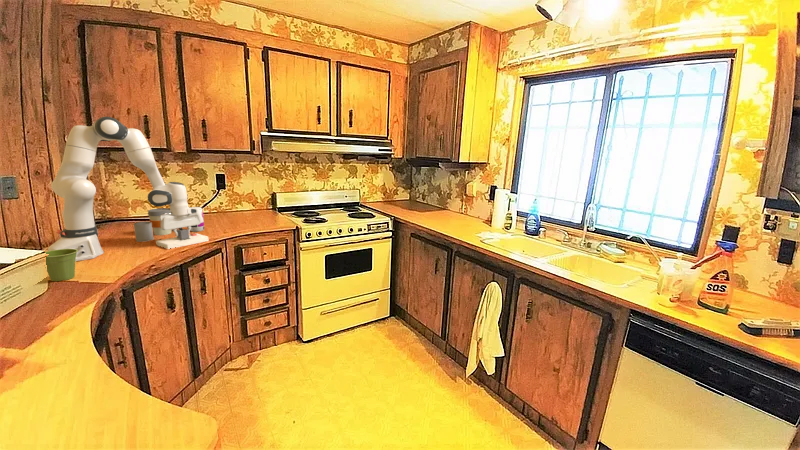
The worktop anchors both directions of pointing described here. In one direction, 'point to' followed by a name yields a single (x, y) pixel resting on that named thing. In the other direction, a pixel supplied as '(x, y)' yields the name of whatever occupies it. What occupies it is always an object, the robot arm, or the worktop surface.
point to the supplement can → (201, 226)
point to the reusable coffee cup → (158, 220)
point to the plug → (183, 233)
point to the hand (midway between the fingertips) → (182, 234)
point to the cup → (143, 231)
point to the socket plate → (182, 241)
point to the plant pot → (61, 264)
